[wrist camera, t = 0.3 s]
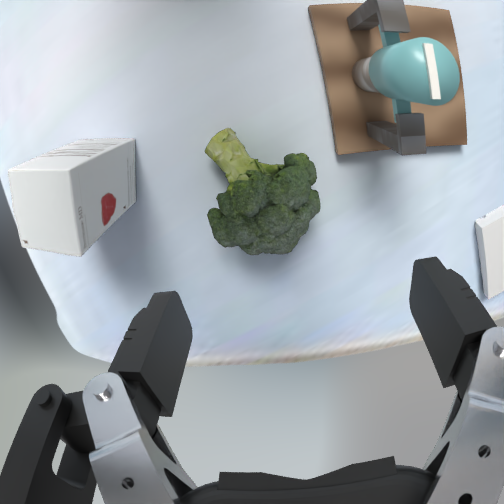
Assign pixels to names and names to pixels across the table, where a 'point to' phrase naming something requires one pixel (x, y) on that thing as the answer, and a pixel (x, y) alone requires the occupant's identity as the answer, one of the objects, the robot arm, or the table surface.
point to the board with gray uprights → (362, 89)
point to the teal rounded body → (413, 72)
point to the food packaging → (491, 251)
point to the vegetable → (261, 198)
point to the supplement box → (73, 194)
